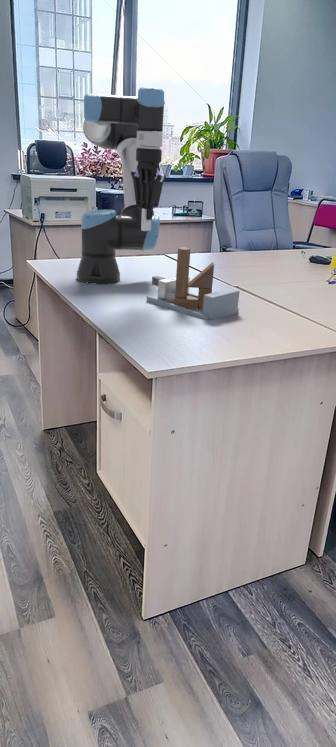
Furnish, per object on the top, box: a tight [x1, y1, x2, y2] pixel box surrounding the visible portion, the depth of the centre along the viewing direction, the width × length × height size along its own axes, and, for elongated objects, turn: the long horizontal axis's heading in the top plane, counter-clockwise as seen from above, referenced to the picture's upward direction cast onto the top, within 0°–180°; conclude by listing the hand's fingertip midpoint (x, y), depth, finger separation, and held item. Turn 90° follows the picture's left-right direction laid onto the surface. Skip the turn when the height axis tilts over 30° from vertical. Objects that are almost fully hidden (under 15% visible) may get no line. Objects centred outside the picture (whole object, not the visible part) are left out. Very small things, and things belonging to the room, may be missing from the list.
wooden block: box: [173, 246, 215, 311], centre depth 156 cm, size 4×11×18 cm, turn 91°
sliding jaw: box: [151, 275, 191, 304], centre depth 166 cm, size 10×11×7 cm
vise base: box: [146, 288, 241, 321], centre depth 159 cm, size 25×14×8 cm, turn 45°
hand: (145, 230), depth 166 cm, fingers closed
